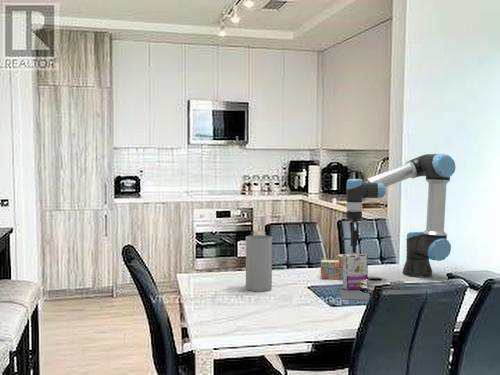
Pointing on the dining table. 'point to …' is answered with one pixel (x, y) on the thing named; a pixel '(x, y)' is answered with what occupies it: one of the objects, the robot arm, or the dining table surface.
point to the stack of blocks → (332, 268)
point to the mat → (353, 295)
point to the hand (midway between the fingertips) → (353, 258)
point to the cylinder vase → (258, 263)
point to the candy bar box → (354, 270)
